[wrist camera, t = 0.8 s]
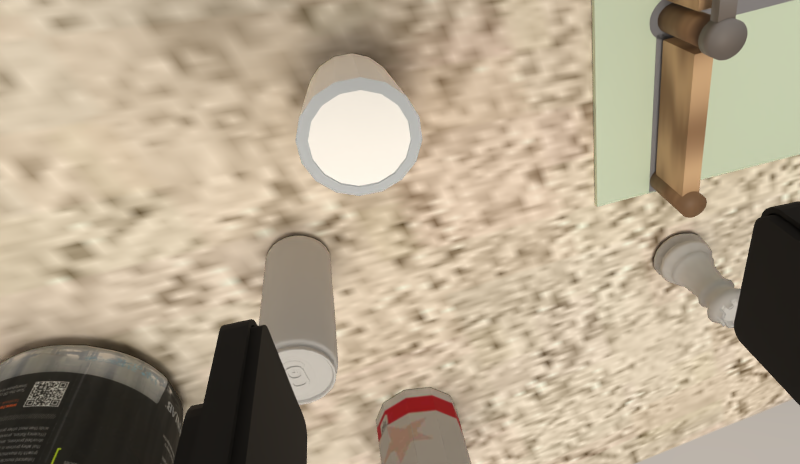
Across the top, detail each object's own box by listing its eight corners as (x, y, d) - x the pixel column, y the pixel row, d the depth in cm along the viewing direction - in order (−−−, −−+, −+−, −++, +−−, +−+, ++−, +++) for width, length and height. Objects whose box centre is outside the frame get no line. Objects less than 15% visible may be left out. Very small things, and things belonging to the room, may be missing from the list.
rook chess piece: (641, 271, 48) (696, 335, 41) (665, 227, 45) (727, 288, 39) (686, 275, 49) (746, 339, 42) (711, 233, 46) (779, 293, 40)
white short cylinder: (425, 97, 37) (448, 140, 31) (351, 166, 38) (359, 218, 33) (351, 18, 33) (361, 49, 27) (274, 97, 35) (268, 142, 29)
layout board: (588, -218, 29) (591, -219, 28) (907, -300, 29) (915, -303, 28) (594, 204, 43) (597, 207, 43) (807, 149, 43) (812, 151, 43)
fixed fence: (656, 6, 35) (697, 21, 31) (684, -1, 35) (728, 14, 31) (648, 190, 43) (680, 220, 39) (671, 184, 43) (705, 213, 39)
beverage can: (318, 223, 40) (322, 337, 30) (339, 272, 43) (349, 392, 33) (255, 242, 41) (238, 362, 31) (280, 290, 43) (272, 416, 33)
